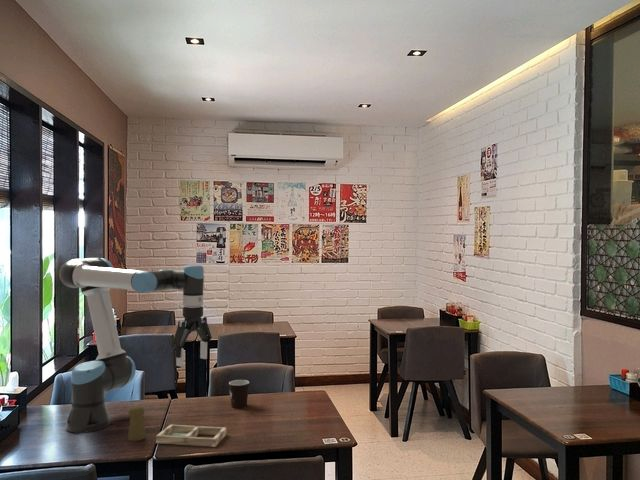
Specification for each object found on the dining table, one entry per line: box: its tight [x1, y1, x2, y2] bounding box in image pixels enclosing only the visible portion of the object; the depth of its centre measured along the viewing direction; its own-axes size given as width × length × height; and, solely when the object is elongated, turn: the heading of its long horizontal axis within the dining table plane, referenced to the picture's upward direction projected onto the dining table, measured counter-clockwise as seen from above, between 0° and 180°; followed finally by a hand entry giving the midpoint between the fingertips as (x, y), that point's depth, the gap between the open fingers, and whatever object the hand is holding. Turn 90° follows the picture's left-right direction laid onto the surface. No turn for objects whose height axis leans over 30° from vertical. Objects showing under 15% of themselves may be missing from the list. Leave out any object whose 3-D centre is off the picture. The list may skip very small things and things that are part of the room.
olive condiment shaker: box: [127, 405, 146, 442], centre depth 185 cm, size 6×6×11 cm
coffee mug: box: [228, 379, 250, 410], centre depth 221 cm, size 12×9×10 cm
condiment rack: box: [155, 423, 227, 448], centre depth 183 cm, size 11×22×2 cm, turn 81°
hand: (192, 362), depth 196 cm, fingers open, 13 cm apart
